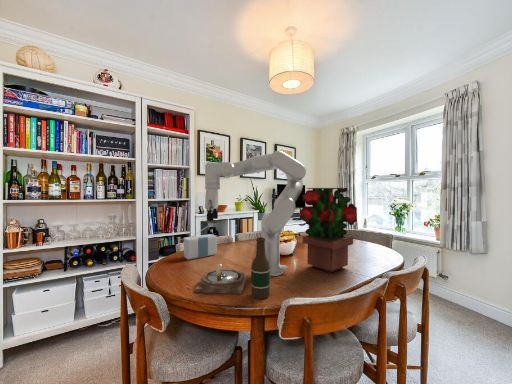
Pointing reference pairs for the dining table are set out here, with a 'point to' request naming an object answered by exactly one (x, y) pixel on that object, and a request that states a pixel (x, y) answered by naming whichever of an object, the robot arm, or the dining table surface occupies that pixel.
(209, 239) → the stereo radio cassette player
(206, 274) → the dial housing
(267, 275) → the beer bottle
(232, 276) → the dial
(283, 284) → the dining table surface
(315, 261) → the potted plant
